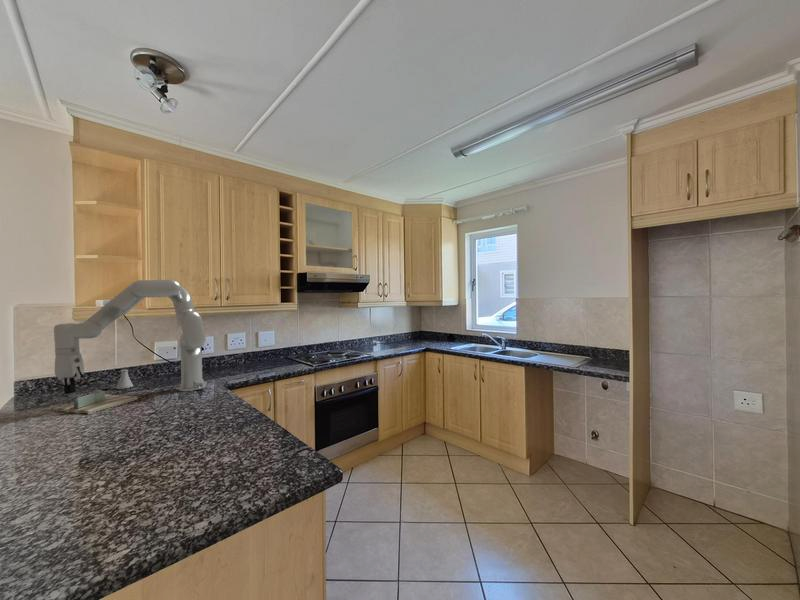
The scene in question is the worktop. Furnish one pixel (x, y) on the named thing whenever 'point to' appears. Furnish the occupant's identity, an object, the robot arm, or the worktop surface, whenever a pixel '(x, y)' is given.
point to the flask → (124, 380)
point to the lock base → (99, 404)
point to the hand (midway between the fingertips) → (70, 392)
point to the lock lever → (89, 399)
